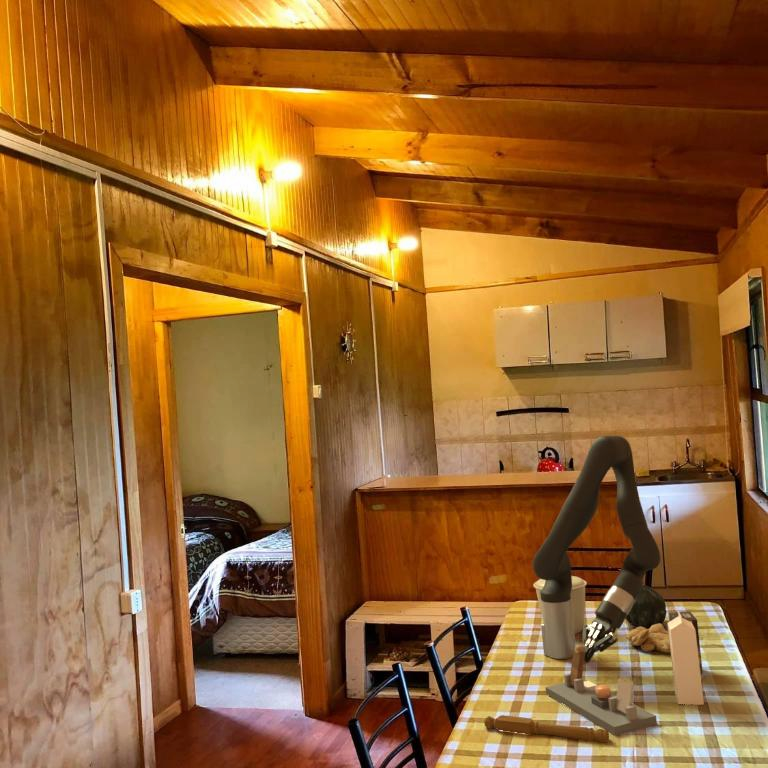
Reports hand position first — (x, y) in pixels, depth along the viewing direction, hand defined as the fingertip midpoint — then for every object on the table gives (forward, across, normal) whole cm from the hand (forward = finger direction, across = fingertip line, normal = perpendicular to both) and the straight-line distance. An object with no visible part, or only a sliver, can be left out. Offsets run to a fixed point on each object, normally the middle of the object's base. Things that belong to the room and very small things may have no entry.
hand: (583, 660), depth 198 cm
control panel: (+9, +10, +3) cm, 14 cm away
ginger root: (-20, -19, +33) cm, 43 cm away
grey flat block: (+7, +20, +2) cm, 22 cm away
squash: (-30, -39, +43) cm, 65 cm away
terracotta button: (+6, +13, 0) cm, 14 cm away
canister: (-12, -50, +25) cm, 57 cm away
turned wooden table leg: (+23, +15, -10) cm, 29 cm away
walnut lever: (+7, 0, +2) cm, 7 cm away
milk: (-6, +18, +19) cm, 27 cm away
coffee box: (-15, +4, +28) cm, 33 cm away
